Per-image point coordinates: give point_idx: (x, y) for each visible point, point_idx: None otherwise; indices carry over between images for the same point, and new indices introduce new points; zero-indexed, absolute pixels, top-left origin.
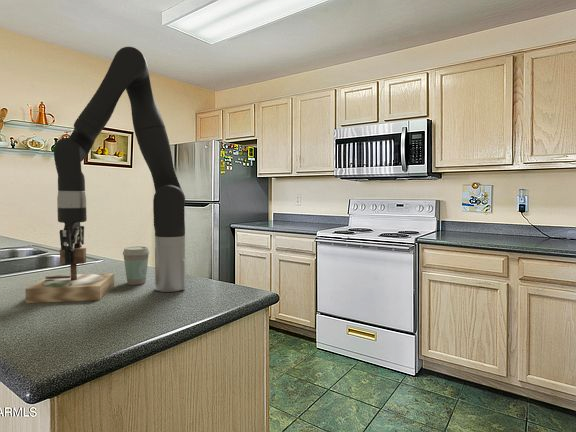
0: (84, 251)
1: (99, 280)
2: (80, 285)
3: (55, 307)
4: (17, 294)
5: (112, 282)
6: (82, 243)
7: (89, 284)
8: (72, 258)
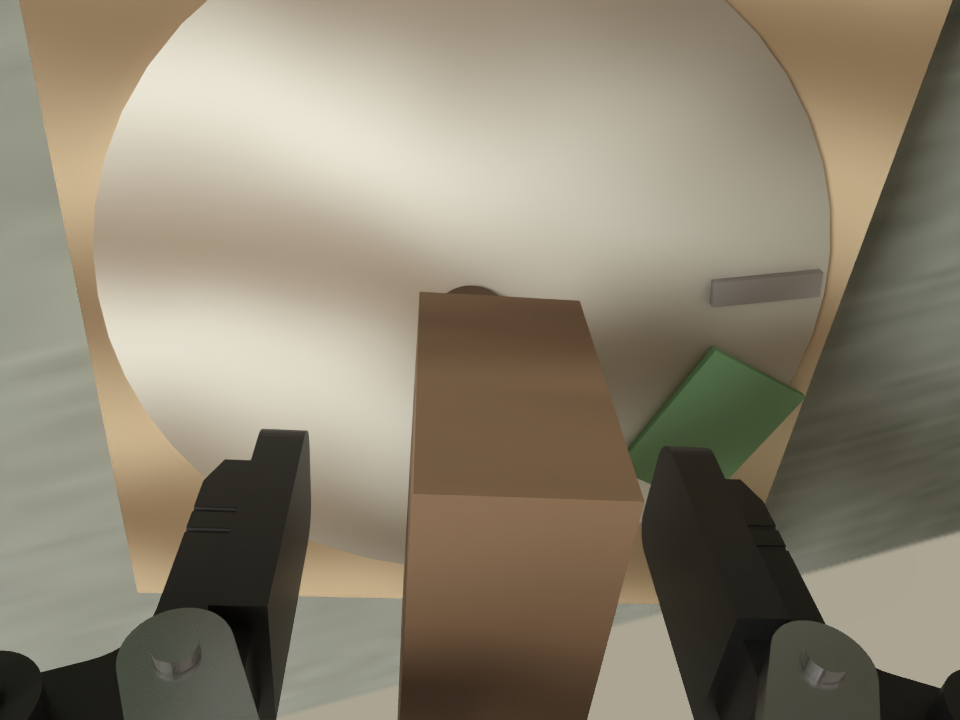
0: (543, 445)
1: None
2: (817, 164)
3: (950, 273)
4: (386, 631)
5: None
6: (42, 693)
7: (809, 52)
8: (732, 513)
